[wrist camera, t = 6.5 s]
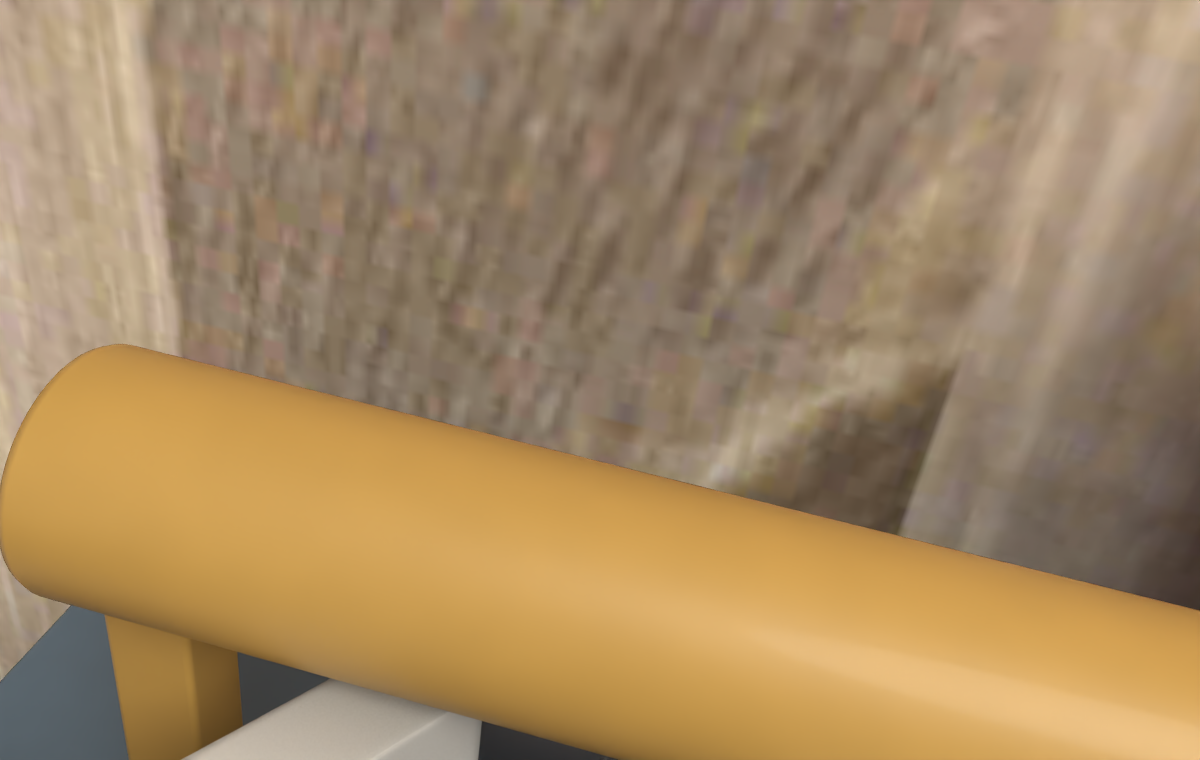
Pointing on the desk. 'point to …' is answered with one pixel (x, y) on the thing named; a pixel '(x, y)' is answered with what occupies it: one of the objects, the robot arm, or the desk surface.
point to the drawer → (522, 595)
